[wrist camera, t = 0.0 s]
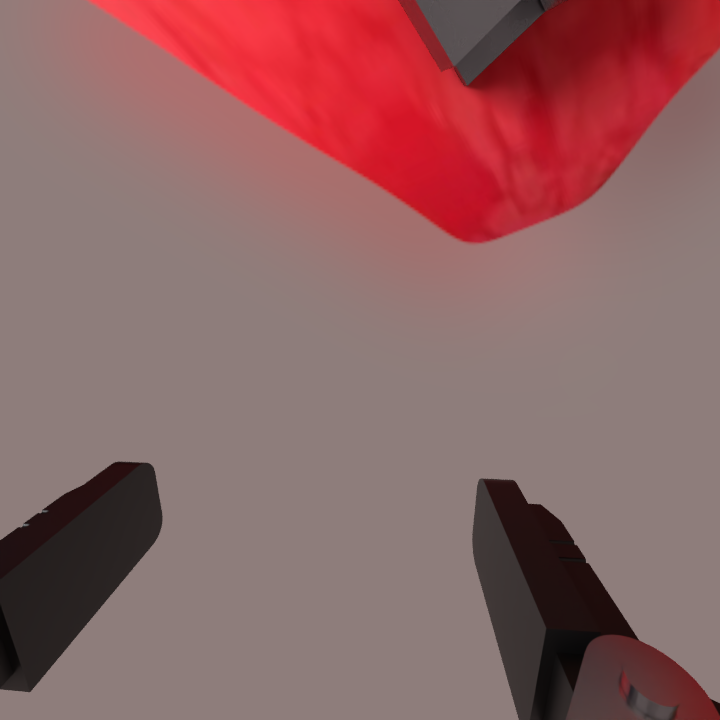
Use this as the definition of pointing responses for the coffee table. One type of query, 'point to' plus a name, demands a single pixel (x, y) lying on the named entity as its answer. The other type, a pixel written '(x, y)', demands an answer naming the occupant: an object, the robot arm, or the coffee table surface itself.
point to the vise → (498, 39)
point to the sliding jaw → (457, 24)
